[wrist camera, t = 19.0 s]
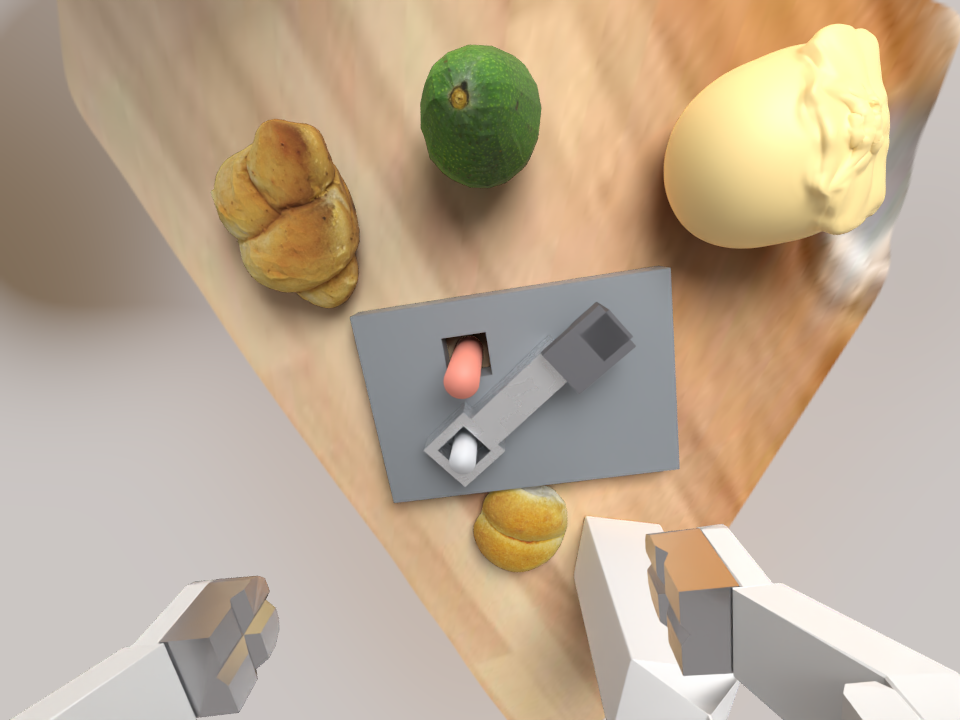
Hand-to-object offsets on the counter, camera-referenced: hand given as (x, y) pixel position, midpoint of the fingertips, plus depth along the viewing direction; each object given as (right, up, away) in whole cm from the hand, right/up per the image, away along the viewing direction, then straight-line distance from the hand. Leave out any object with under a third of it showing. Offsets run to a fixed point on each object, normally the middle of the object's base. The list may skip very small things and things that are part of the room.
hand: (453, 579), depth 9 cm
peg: (0, +6, +29) cm, 29 cm away
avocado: (+1, +21, +24) cm, 33 cm away
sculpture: (+19, +19, +24) cm, 37 cm away
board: (+4, +2, +29) cm, 30 cm away
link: (+2, +1, +27) cm, 27 cm away
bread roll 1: (-13, +15, +27) cm, 34 cm away
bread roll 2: (+4, -10, +33) cm, 35 cm away
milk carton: (+14, -14, +34) cm, 39 cm away
